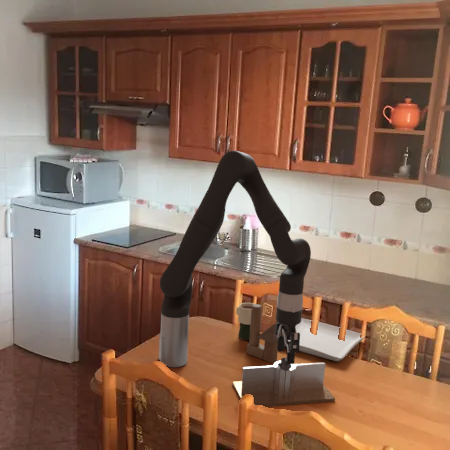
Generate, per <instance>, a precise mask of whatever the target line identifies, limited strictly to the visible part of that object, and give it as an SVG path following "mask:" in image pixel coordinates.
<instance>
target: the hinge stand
mask: <svg viewBox="0 0 450 450" xmlns="http://www.w3.org/2000/svg"><path fill="white" fill-rule="evenodd" d="M325 372H326V363H325V362H313V363H294V364H290V368H289V369H284V368H281V360H276V361H274V362H273V365H262V366H261V365H260V366H244V367H242V376H241V378H242V379H241V380H239V381H237V380H236V381H232V387H233V388H234V390H235V392H236V394H237V397H238V398H239V400H240V399H241V398H242V397H243V396H244V395H245V394H251V395H253V397H254V404H255V405H263V406H266V407H265V408H267V407H270V408H271V407H281V406H283V407H284V406H295V405H307V404H319V403H320V404H321V403H333V402H336V398H335V396H334V395H333V394H332V393H331V392H330V390H329V389H328V388H327V387H326V385H325V383H324V380H325Z"/></svg>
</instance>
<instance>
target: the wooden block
mask: <svg viewBox="0 0 450 450" xmlns="http://www.w3.org/2000/svg"><path fill="white" fill-rule="evenodd" d="M262 309H263V305H261V304H257V303H253V305H252V309H251V324H250V339H249V342H248V343H247V344H246V354H248V355H249V356H253V357H255V358H258V359H261V360H263V361H265V362H269V363H271V364H272V363H275V362H277V361H278V360H277V359H278V352H279V351H278V350H277V343H278V339H277V335H276V334H275V330H276V322H275V323H273V324H272V325H271V326H269V327H267V329H265V330H264V331H263V332H261V328H262V327H261V325H262V313H263V312H262V311H263V310H262ZM278 330H279V329H278ZM260 341H264V344H261V343H260Z"/></svg>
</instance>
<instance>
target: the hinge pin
mask: <svg viewBox="0 0 450 450" xmlns="http://www.w3.org/2000/svg"><path fill="white" fill-rule="evenodd" d="M286 360H287V357H282V358H281V360H280V361H281V368H284V369H289V368H290V364H287V362H286Z"/></svg>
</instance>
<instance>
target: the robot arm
mask: <svg viewBox="0 0 450 450" xmlns="http://www.w3.org/2000/svg"><path fill="white" fill-rule="evenodd" d="M216 166H217V167H216V169H215V171H214V174H213V176H212V179H211V182H210V184H209V186H208V188H207V190H206V192H205V193H204V196H203V198H202V200H201V202H200V204H199V206H198V208H197V209H196V211H195V213H194V214H193V216H192V218H191V219H190V223H189V224H188V226H187V228H186V230H185V233H184V235H183V237H182V239H181V242H180V244H179V247H178V249H177V251H176V253H175V255H174V257H173V258H172V260H171V261H170V263H169V264H168V266H167V267H166V269H165V270H164V271H163V272H162V274H161V275H160V280H159V287H160V288H159V289H160V290H161V292H162V293H163V294H164V296H163V299H162V303H161V307H160V308H161V311H160V332H159V343H158V348H159V349H158V360H160V361H161V362H163V363H164V364H166V365H167V366H168V367H167V366H166V367H167V368H180V367H183V366H185V365H187V363H188V357H189V356H188V351H189V350H188V349H189V346H188V345H189V329H190V328H189V325H190V308H191V304H192V296H193V295H192V294H193V272H194V270H195V268H196V266H197V265H198V263H199V262H200V260H201V259H202V257H203V256H204V255H205V254H206V252H207V251H208V250H209V248H210V247H211V245H212V244H213V243H214V240H215V239H216V237H217V235H218V233H219V231H220V229H221V228H222V226H223V224H224V220H225V214H226V206H227V201H228V199H229V196H230V194H231V192H232V191H233V188H234V187H235V186H236V184H237V183H239V185H240V186H242V188H243V189H244V190H245V192H246V193H247V195H249V197H250V199H251V202H252V204H253V208H254V211H255V214H256V216H257V219H258V221H259V222H260V224H261V225H262V227H263V228H264V230H265V232H267V234H268V236H269V239H270V242H271V245H272V247H273V251H274V253H275V255H276V258H277V259H278V261H280V263H282V264H283V265H285V266H286V268H285V269H284V270H283V271H282V272H281V273H280V275H279V284H278V285H279V286H278V293H277V299H276V312H275V320H276V321H275V323H276V330H275V334H276V335H277V339H278V343H277V350H278V351H277V352H284V351H285V347H286V346H285V345H287V347H286V350H287V351H286V358H287V360H286V362H287V364H295V360H296V359H295V358H296V354H299V352H300V351H299V344H300V333H296V327H295V326H296V325H297V324H299V323H300V322H301V318H303V315H302V314H303V305H304V284H305V277H306V274H307V272H308V268H309V264H310V261H311V256H312V253H311V252H312V251H311V246H310V244H309V243H308V241H307V240H305V239H304V238H295V239H292V238H291V237H290V233H289V232H290V231H291V229H292V225H291V223H290V221H289V220H288V218H287V217H286V216H285V214H284V212H283V211H282V210H281V208H280V207H279V206H278V205H279V204H277V202H276V201H275V199H274V197H273V195H272V194H271V192H270V190H269V188H268V186H267V185H266V183H265V180H264V179H263V176H262V175H261V173H260V170H259V168H258V166H257V163H256V162H255V160H254V158H253V157H252V156H251V155H250V154H248V153H246V152H242V151H238V150H229V151H227V152H226V153H224V154H223V155H222V157H221V158H220V160H219V162H218V165H216ZM278 329H279V330H278ZM288 340H290V341H288ZM160 361H159V362H160Z"/></svg>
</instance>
